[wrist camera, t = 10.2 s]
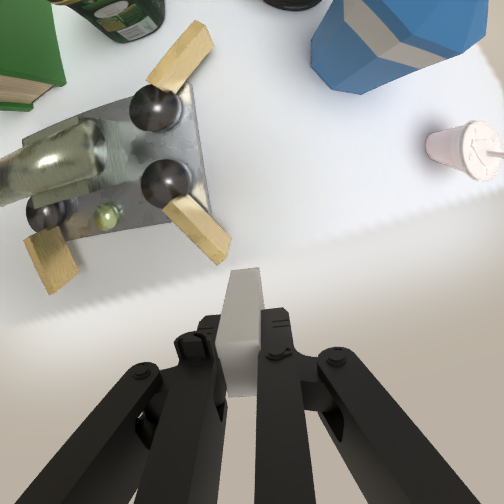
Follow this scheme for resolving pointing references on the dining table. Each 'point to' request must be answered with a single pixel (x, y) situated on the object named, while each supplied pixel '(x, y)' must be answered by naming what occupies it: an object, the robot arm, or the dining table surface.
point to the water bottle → (391, 39)
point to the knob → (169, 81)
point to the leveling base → (136, 166)
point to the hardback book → (27, 53)
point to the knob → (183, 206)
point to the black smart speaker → (293, 4)
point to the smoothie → (468, 149)
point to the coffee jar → (119, 16)
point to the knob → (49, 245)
